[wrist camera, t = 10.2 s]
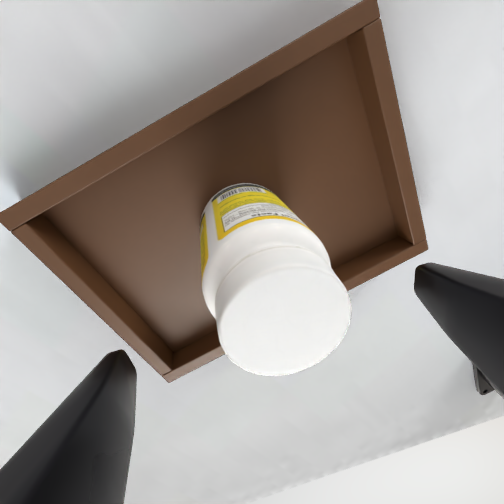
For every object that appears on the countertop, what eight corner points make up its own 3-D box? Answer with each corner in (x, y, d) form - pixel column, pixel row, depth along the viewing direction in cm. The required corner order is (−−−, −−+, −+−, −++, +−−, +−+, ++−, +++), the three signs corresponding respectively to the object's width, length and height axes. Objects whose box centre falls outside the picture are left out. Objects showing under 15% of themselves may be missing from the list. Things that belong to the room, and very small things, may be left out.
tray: (405, 235, 18) (429, 249, 17) (171, 358, 20) (168, 383, 18) (349, 10, 13) (376, -8, 11) (20, 202, 14) (-7, 216, 12)
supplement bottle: (250, 277, 17) (290, 404, 10) (182, 235, 15) (167, 353, 8) (303, 214, 16) (396, 305, 8) (236, 161, 14) (280, 217, 7)
